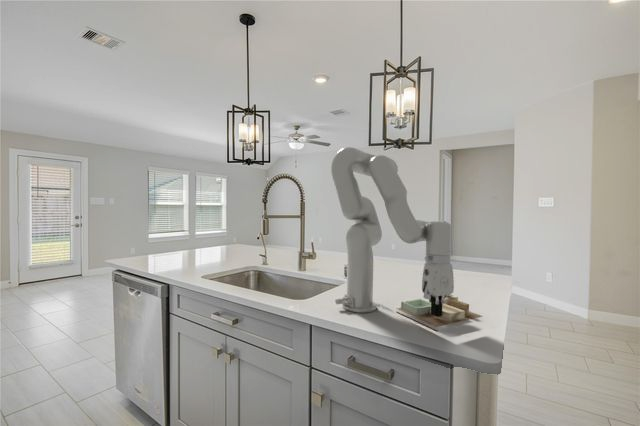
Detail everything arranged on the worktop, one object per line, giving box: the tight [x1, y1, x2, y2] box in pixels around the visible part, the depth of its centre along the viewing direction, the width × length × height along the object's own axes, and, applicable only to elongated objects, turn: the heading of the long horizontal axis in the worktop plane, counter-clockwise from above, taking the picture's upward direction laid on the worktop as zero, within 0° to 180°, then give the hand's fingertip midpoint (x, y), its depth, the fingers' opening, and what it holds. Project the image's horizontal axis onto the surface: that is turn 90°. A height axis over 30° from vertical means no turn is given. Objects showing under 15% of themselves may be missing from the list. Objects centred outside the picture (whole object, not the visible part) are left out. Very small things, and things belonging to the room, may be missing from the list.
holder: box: [428, 294, 459, 306], centre depth 111 cm, size 7×7×4 cm
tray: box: [400, 298, 431, 316], centre depth 106 cm, size 9×8×2 cm
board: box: [396, 299, 483, 332], centre depth 105 cm, size 22×18×6 cm
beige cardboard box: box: [430, 304, 465, 322], centre depth 101 cm, size 7×8×2 cm
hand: (436, 315), depth 98 cm, fingers closed
